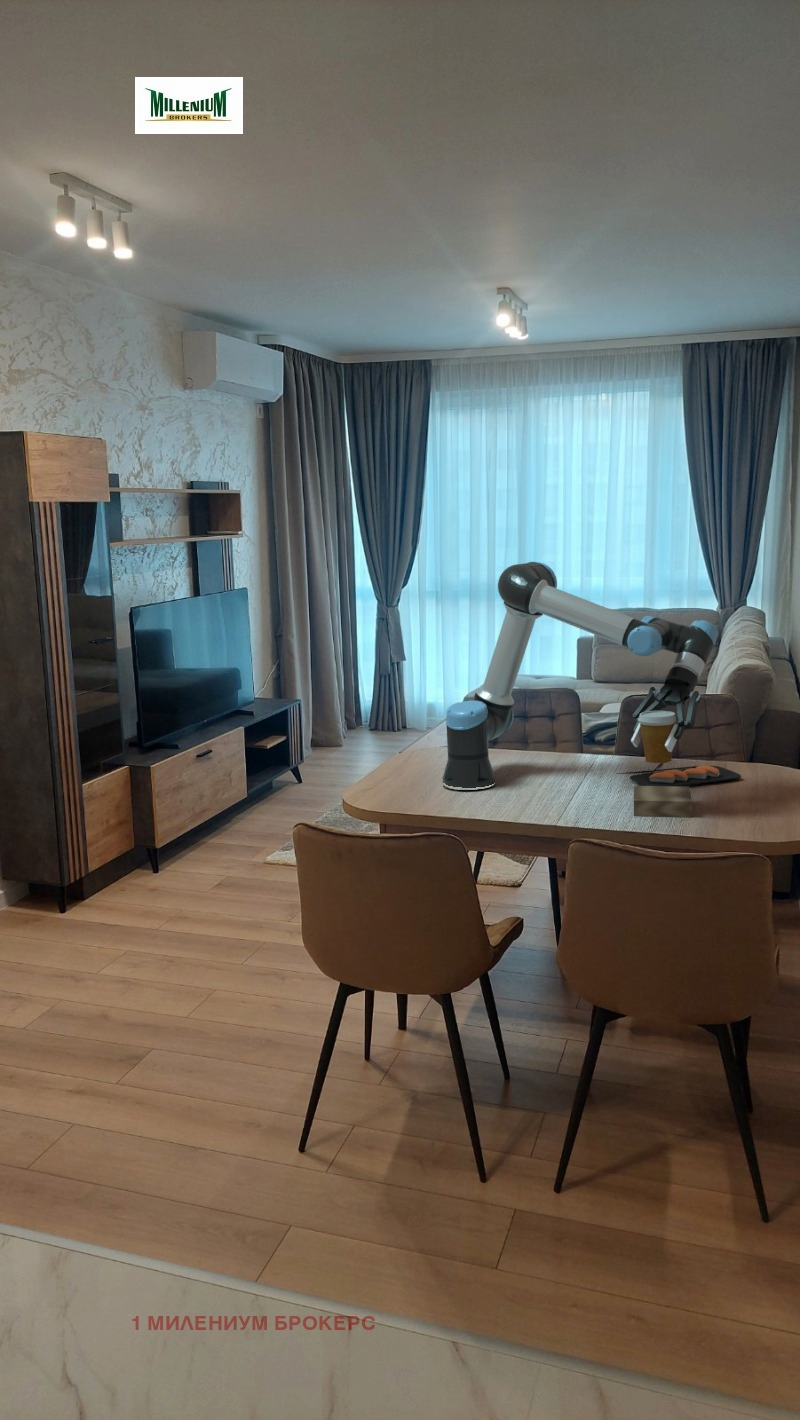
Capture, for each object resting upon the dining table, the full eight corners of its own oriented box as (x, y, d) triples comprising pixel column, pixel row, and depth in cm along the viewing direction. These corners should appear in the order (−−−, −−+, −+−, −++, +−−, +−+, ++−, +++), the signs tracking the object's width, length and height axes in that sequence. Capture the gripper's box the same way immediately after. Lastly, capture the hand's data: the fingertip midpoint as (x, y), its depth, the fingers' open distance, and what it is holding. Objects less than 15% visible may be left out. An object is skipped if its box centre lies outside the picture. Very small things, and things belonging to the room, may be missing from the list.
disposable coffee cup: (674, 755, 253) (673, 709, 251) (680, 764, 244) (679, 716, 242) (636, 757, 254) (635, 711, 252) (641, 765, 245) (640, 718, 243)
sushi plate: (652, 794, 267) (652, 781, 267) (600, 770, 296) (600, 757, 295) (745, 782, 275) (745, 769, 274) (686, 759, 303) (686, 747, 303)
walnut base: (633, 815, 247) (633, 800, 247) (633, 800, 261) (633, 785, 260) (692, 817, 244) (692, 801, 243) (689, 801, 257) (689, 786, 257)
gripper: (728, 686, 249) (695, 760, 241) (653, 679, 264) (619, 749, 256) (718, 668, 244) (684, 743, 236) (641, 662, 260) (607, 732, 252)
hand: (650, 746), depth 246 cm, fingers closed on disposable coffee cup, 9 cm apart
